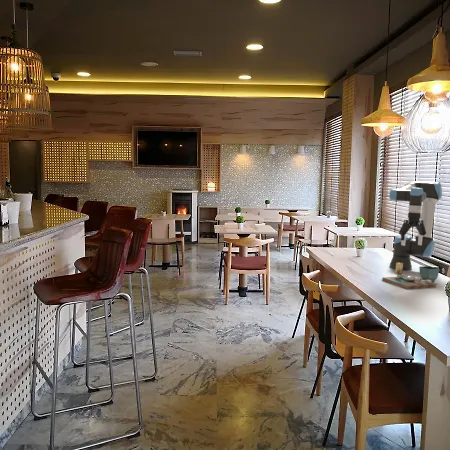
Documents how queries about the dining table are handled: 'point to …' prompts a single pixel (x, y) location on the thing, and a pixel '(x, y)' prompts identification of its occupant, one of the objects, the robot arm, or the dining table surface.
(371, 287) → the dining table surface
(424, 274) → the flower pot
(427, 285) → the base plate
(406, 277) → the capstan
